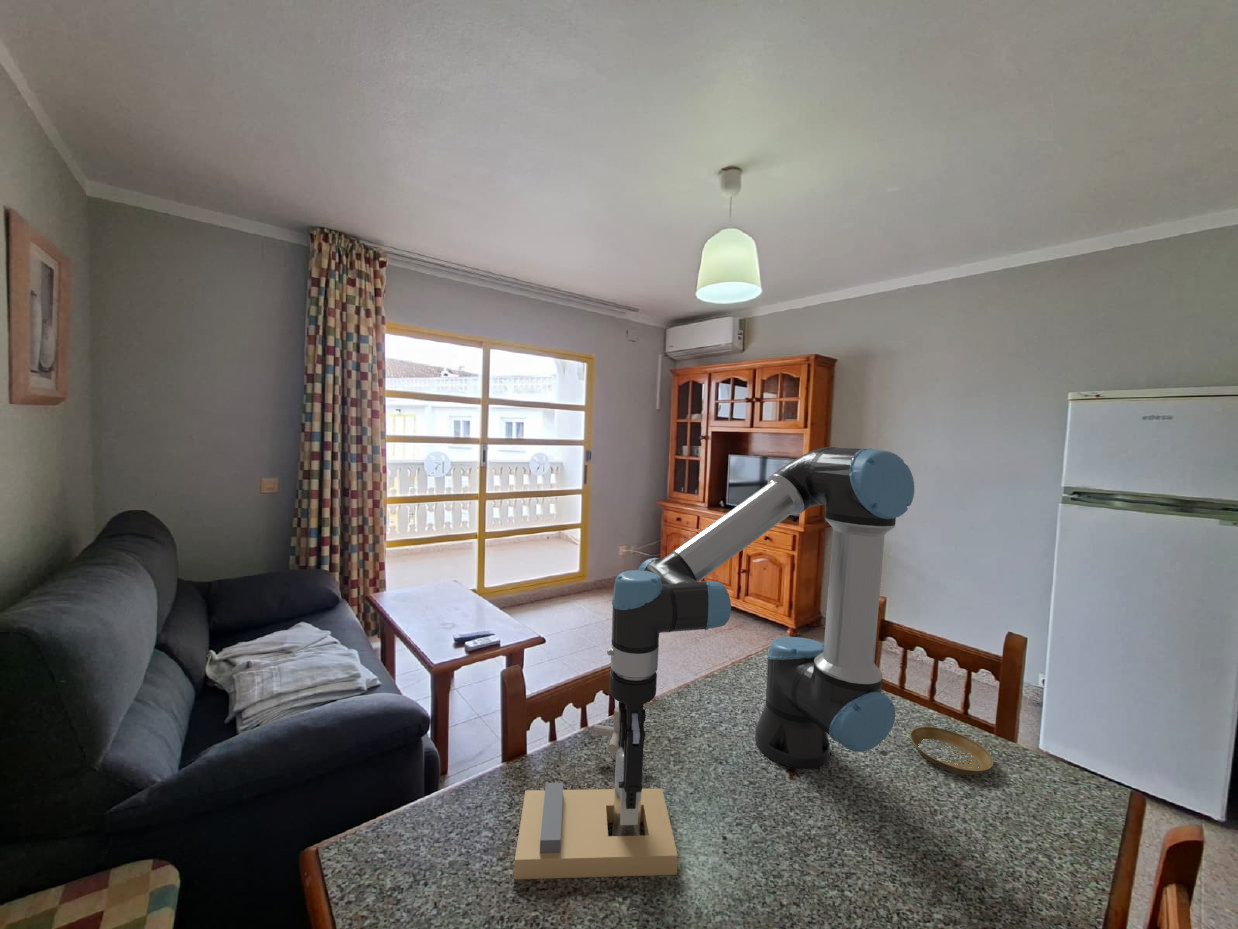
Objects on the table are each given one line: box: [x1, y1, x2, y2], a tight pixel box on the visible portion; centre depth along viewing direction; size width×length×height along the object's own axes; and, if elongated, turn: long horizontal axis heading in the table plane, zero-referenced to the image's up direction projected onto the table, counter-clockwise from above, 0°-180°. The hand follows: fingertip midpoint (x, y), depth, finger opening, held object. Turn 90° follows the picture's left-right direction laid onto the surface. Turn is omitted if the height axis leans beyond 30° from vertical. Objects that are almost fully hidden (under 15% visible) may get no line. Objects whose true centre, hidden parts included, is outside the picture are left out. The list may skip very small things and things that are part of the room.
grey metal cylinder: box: [611, 747, 644, 836], centre depth 79 cm, size 4×4×14 cm
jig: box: [513, 782, 679, 880], centre depth 79 cm, size 24×14×5 cm, turn 95°
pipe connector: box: [592, 706, 620, 761], centre depth 99 cm, size 10×10×10 cm
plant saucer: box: [909, 726, 995, 776], centre depth 104 cm, size 15×15×3 cm
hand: (627, 810), depth 79 cm, fingers open, 5 cm apart
